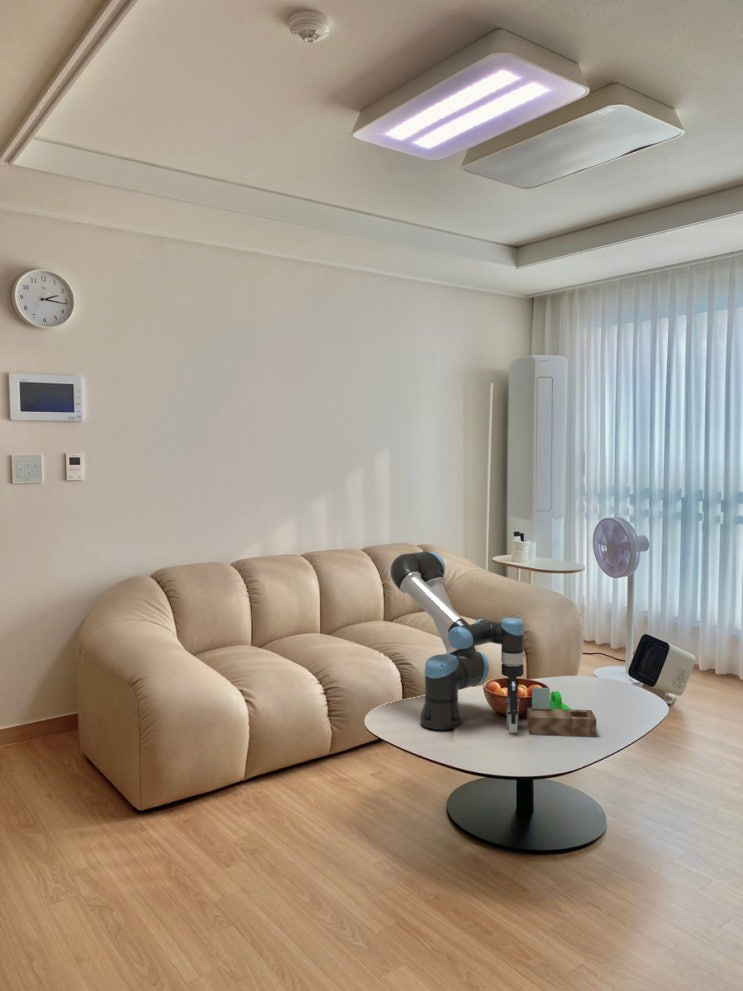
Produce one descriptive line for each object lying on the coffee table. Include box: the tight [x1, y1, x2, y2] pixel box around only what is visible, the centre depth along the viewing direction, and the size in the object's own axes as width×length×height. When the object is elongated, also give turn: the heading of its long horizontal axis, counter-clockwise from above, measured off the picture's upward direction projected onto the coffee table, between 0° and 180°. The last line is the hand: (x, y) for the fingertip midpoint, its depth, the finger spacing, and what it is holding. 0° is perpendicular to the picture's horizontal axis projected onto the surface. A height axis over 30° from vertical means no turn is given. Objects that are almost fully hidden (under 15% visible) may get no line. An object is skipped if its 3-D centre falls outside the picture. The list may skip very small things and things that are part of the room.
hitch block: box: [526, 707, 597, 738], centre depth 271 cm, size 22×10×6 cm, turn 83°
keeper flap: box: [530, 687, 551, 710], centre depth 275 cm, size 6×1×8 cm, turn 83°
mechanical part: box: [550, 690, 573, 710], centre depth 295 cm, size 12×6×8 cm, turn 11°
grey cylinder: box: [505, 696, 521, 730], centre depth 274 cm, size 5×5×10 cm
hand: (512, 727), depth 274 cm, fingers open, 9 cm apart
